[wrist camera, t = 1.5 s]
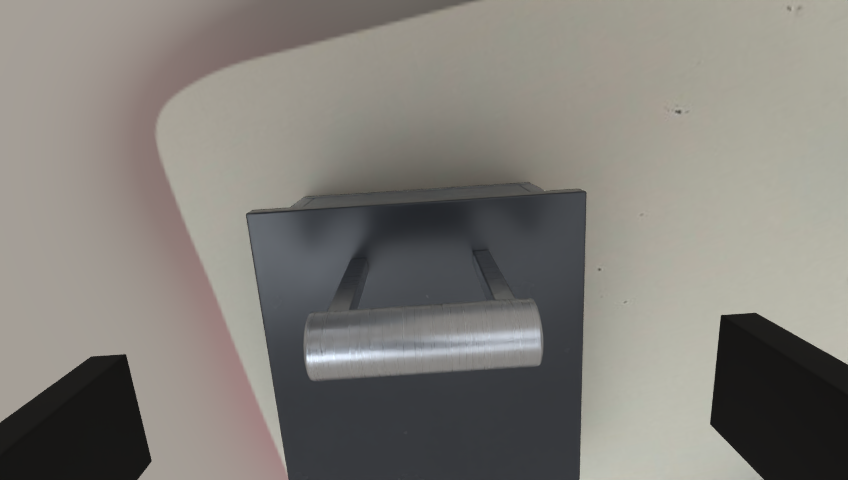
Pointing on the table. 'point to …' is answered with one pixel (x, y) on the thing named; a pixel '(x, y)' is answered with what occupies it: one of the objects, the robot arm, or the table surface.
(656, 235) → the table surface
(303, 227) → the box lid
